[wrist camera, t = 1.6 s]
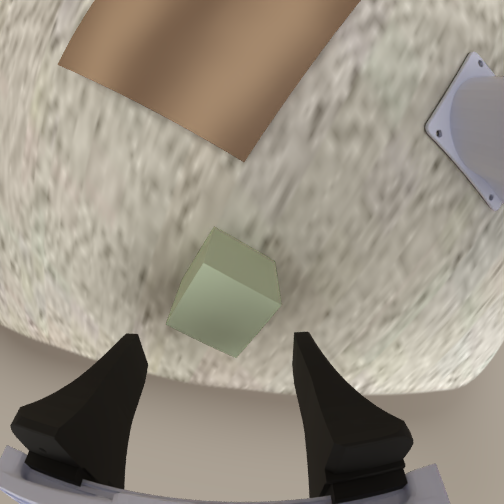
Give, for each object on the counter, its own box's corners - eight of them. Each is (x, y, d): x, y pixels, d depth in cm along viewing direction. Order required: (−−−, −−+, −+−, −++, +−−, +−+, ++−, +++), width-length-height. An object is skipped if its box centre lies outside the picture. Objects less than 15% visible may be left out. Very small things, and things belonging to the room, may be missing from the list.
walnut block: (354, 3, 13) (371, -13, 10) (245, 154, 17) (244, 162, 14) (187, -73, 10) (179, -96, 7) (82, 68, 14) (57, 64, 12)
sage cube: (274, 260, 20) (281, 304, 16) (238, 309, 22) (236, 358, 17) (214, 226, 19) (203, 262, 15) (182, 279, 21) (165, 324, 16)
